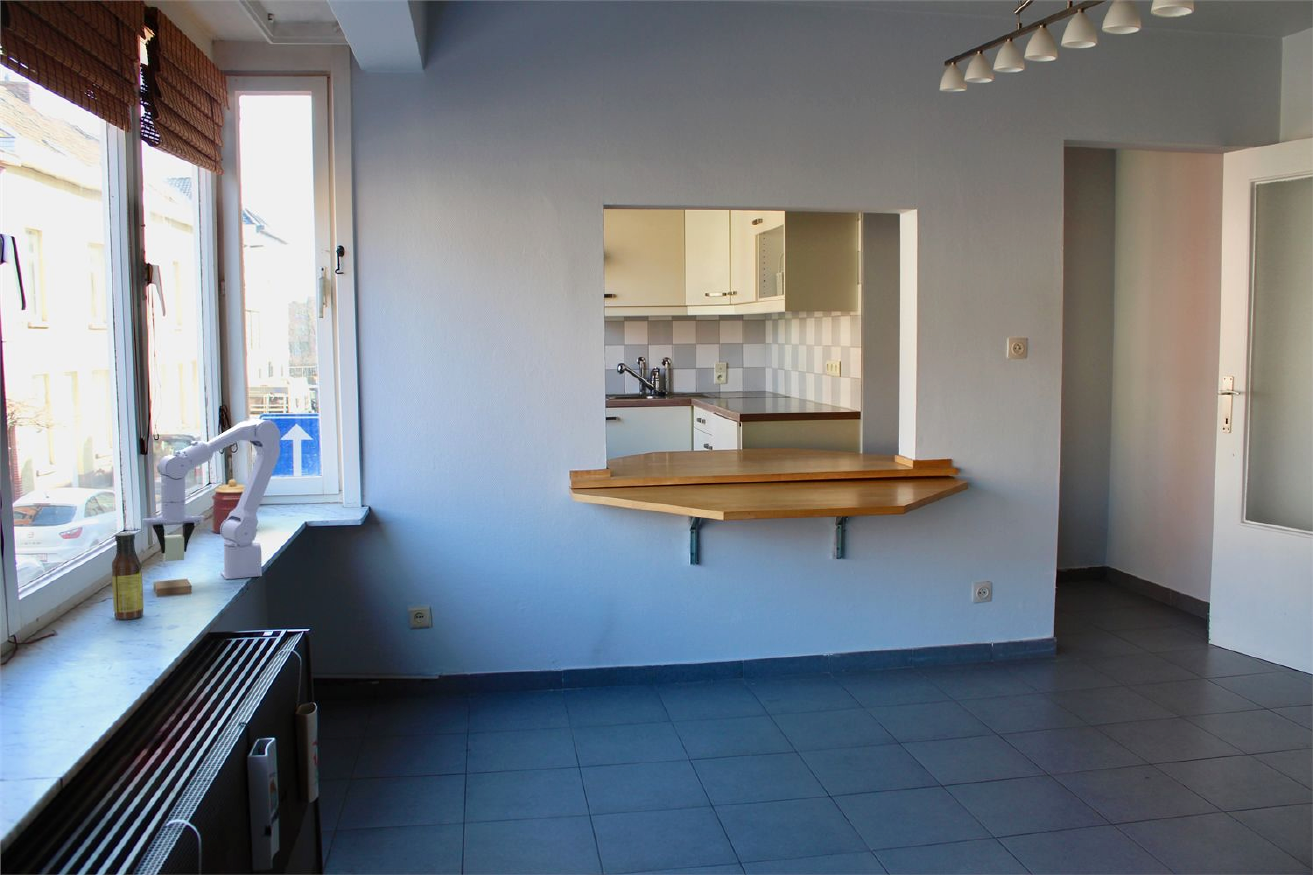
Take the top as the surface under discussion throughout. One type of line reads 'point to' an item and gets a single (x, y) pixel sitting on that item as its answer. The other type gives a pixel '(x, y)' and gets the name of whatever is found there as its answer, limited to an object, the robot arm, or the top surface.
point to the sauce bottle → (127, 579)
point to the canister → (225, 502)
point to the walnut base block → (172, 587)
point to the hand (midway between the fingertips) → (173, 551)
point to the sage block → (174, 547)
